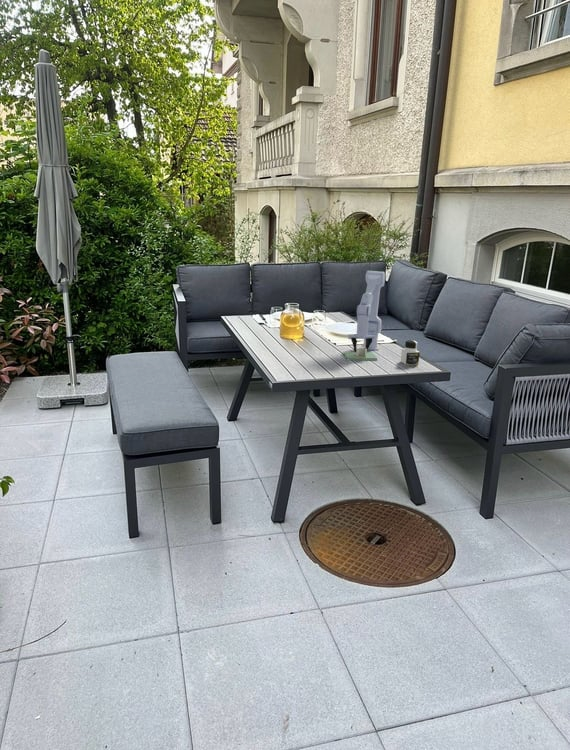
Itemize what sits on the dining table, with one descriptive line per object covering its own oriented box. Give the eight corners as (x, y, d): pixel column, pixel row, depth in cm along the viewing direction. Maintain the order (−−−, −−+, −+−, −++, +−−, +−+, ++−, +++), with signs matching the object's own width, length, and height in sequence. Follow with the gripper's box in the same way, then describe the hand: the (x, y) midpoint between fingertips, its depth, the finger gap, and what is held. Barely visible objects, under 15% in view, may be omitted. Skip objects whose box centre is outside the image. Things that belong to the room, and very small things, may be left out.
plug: (354, 353, 306) (355, 346, 305) (364, 353, 306) (365, 346, 305) (356, 356, 301) (356, 348, 300) (366, 356, 301) (367, 349, 300)
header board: (343, 354, 310) (343, 346, 309) (372, 354, 311) (372, 346, 310) (347, 360, 298) (347, 352, 297) (377, 360, 300) (377, 352, 298)
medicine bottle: (405, 365, 292) (407, 342, 289) (400, 361, 299) (402, 339, 295) (418, 365, 294) (420, 342, 290) (412, 361, 300) (415, 339, 297)
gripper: (350, 328, 295) (348, 353, 299) (377, 328, 296) (375, 353, 300) (347, 325, 302) (346, 350, 306) (374, 326, 303) (372, 350, 307)
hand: (360, 351), depth 303 cm, fingers closed on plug, 5 cm apart
